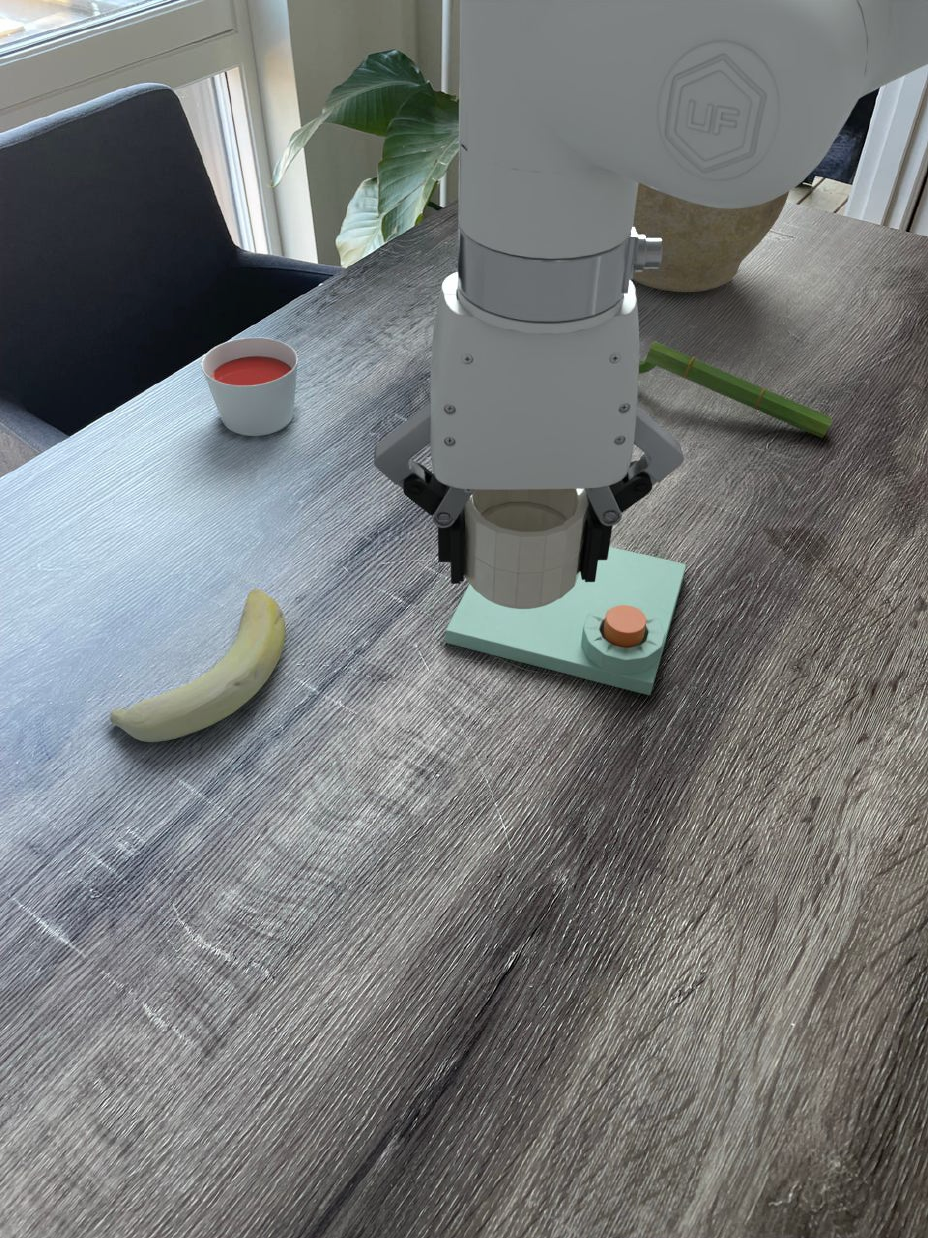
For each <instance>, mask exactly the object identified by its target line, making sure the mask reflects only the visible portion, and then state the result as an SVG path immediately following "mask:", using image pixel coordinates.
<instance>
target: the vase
mask: <svg viewBox="0 0 928 1238" xmlns="http://www.w3.org/2000/svg"><path fill="white" fill-rule="evenodd" d="M790 192H791V190H790V191H788V192H787V193H785V194H783V195H781V196H779V197H778V198H776V199H774V200H772V201H769V202H766V203H764V204H760V205H756V206H751V207H745V208H737V209H726V208H714V207H708V206H703V205H699V204H695V203H691V202H688V201H685V200H682V199H679V198H676V197H673V196H671V195H668V194H665V193H663V192H660V191H658V190H656V189H653V188H651V187H649V186H646V185H644V184H642V183H639V184H638V192H637V199H636V207H635V214H634V222H633V227H635V230H636V232H637V234H644V235H645V237H661V239H662V246H663V251H662V261H661V265H660V268H659V269H644V270H643V271H642V272H635V274H634V277H633V279H632V280H633V281H635V282H637V283H639V284H641V285H643V286H647V287H650V288H652V289H657V290H660V291H666V292H673V293H674V292H675V293H676V292H677V293H697V292H705V291H709V290H713V289H717V288H720V287H722V286H724V285H726V284H728V283H729V282H730V281H732V280H733V279H734V278H735V276H736V275H737V274H738V272H739V268H740V266H741V264H742V263H743V261H744V260H745V259H746V258H747V257H748V256H749V255H750V253H751V252H752V251H754V249H755V248H757V246H758V245H759V244H761V242H762V240H763V239H764V238H765V237H766V236H767V235H768V233H769V232H770V231H771V229H773V227H774V225H776V222H777V221H778V219H779V217H780V215H781V213H782V212H783V209H784V207H785V205H786V203H787V200H788V197H789V194H790Z"/></svg>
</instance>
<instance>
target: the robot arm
mask: <svg viewBox="0 0 928 1238" xmlns="http://www.w3.org/2000/svg"><path fill="white" fill-rule="evenodd" d="M927 65H928V0H459V75H458V76H459V80H458V81H459V82H458V83H459V84H458V87H459V93H458V94H459V96H458V193H457V194H458V198H457V199H458V200H457V201H458V204H457V205H458V207H457V211H458V212H457V216H458V217H457V218H458V221H457V271H454V272H453V273H451V274H449V275H448V276H446V277H445V278H444V279H443V281H442V283H441V288H440V290H439V296H438V300H437V304H436V312H435V316H434V317H435V318H434V324H433V330H432V331H433V332H432V344H431V355H430V356H431V357H430V375H429V376H430V377H429V401H428V403H427V404H426V405H425V406H423V407H422V408H421V409H419V410H418V411H417V412H416V413H414V414H413V415H412V416H410V417H409V418H408V419H406V420H405V421H404V422H403V423H402V424H400V425H399V426H398V427H397V428H395V429H394V430H393V431H392V432H390V433H389V434H388V435H386V436H385V437H384V438H382V439H381V440H380V441H379V442H377V443H376V445H375V446H374V453H373V464H374V465H373V466H374V467H375V468H376V469H377V470H378V471H379V472H380V473H382V475H384V476H385V477H386V479H387V478H388V479H389V481H391V482H392V483H393V484H394V485H395V486H398V487H400V488H401V489H402V491H403V494H404V496H406V498H407V499H408V500H410V501H412V502H413V503H414V504H415V505H417V506H418V507H419V508H420V509H422V510H423V511H424V512H426V513H427V514H428V515H430V516H431V517H432V523H433V524H434V526H436V527H437V563H449V564H450V584H451V585H460V584H461V582H464V581H465V576H464V543H465V527H464V513H463V508H464V506H465V505H466V503H467V502H468V500H469V498H470V497H471V495H472V493H473V492H474V490H475V489H476V490H515V489H583V488H584V490H585V492H586V496H587V500H588V512H587V520H586V528H585V536H584V544H583V552H582V560H581V568H580V573H581V579H582V580H585V582H595V579H596V572H597V565H598V560H607V559H608V553H609V547H611V539H612V531H613V526H616V525H618V524H619V523H620V522H621V520H622V518H623V517H622V516H623V514H622V513H624V512H626V511H627V510H629V509H630V508H631V507H632V506H634V505H635V504H636V503H638V502H639V501H641V500H642V499H643V498H645V497H647V496H648V495H649V494H650V493H651V492H652V490H653V486H654V485H656V484H657V483H661V481H663V480H664V479H665V478H667V477H668V476H669V475H670V474H671V473H673V472H674V471H676V470H677V469H678V468H679V467H680V466H681V465H682V464H683V463H684V460H685V457H684V453H683V450H682V448H681V444H680V442H679V441H678V440H677V439H676V438H675V437H674V436H673V435H671V434H670V433H669V432H668V431H667V430H666V429H664V427H663V426H661V425H660V424H659V423H658V422H657V421H655V420H654V419H653V418H652V416H651V417H650V415H648V414H647V413H646V412H645V411H644V410H643V409H641V408H640V407H639V406H638V395H639V394H638V393H639V375H640V374H639V362H640V325H639V310H638V299H637V291H636V286H635V284H634V282H633V281H632V280H633V277H634V274H635V272H642V271H643V270H644V269H659V268H660V265H661V261H662V251H663V246H662V239H661V237H645V235H644V234H637V232H636V230H635V227H633V222H634V214H635V207H636V199H637V192H638V184H639V183H642V184H644V185H646V186H649V187H651V188H653V189H656V190H658V191H660V192H663V193H665V194H668V195H671V196H673V197H676V198H679V199H682V200H685V201H688V202H691V203H695V204H699V205H703V206H708V207H714V208H726V209H737V208H745V207H751V206H756V205H760V204H764V203H766V202H769V201H772V200H774V199H776V198H778V197H779V196H781V195H783V194H785V193H787V192H788V191H790V192H791V191H792V190H794V189H795V188H796V187H797V186H798V185H800V184H801V183H802V182H803V181H805V179H806V178H807V177H808V176H810V174H812V172H814V170H816V168H817V167H818V166H819V165H820V164H821V162H823V161H822V160H823V159H824V158H825V157H826V155H827V154H828V153H829V151H830V149H831V147H832V145H833V143H834V142H835V140H836V139H837V137H838V135H839V134H840V133H841V130H842V129H843V127H844V126H845V124H846V122H847V120H848V118H849V117H850V116H851V113H852V111H853V110H854V108H855V106H856V105H857V103H858V101H859V99H861V98H862V97H864V96H866V95H868V94H870V93H872V92H874V91H876V90H878V89H880V88H882V87H884V86H886V85H888V84H890V83H892V82H894V81H896V80H898V79H900V78H902V77H904V76H906V75H908V74H911V73H912V72H914V71H916V70H919V69H921V68H923V67H925V66H927ZM428 445H430V458H431V465H432V471H431V470H429V469H428V468H427V467H426V466H424V465H423V464H422V463H419V462H415V461H414V458H413V457H414V456H415V455H417V454H418V453H419V452H421V451H422V450H423V449H425V448H426V447H428ZM634 446H636V447H637V448H638V449H639V450H641V451H642V452H643V454H642V455H640V457H639V459H638V460H633V461H632V458H633V453H634Z"/></svg>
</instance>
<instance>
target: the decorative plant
mask: <svg viewBox="0 0 928 1238" xmlns="http://www.w3.org/2000/svg"><path fill="white" fill-rule="evenodd" d="M656 367H659V368H660V369H663V370H664V371H667V372H669V373H672V374H674V375H676V376H678V377H681V378H683V379H684V380H687V381H690V382H691V383H694V384H696V385H700V386H702V387H704V388H706V389H708V390H711V391H713V392H715V393H718V394H719V395H722V396H724V397H727V398H729V399H731V400H733V401H735V402H738V403H741V404H742V405H745V406H747V407H749V408H752V409H753V410H756V411H759V412H760V413H763V414H765V415H768V416H770V417H772V418H775V419H777V420H780V421H782V422H784V423H786V424H788V425H790V426H793V427H795V428H798V429H800V430H802V431H804V432H807V433H809V434H810V435H813V436H816V437H818V438H820V439H824V437H825V436H826V434H827V432H828V430H829V429H830V427H831V425H832V422H833V420H834V418H833V417H831V416H828V415H826V414H824V413H822V412H819V411H817V410H815V409H813V408H810V407H808V406H806V405H803V404H801V403H799V402H796V401H794V400H793V399H789V398H787V397H785V396H783V395H780V394H778V393H775V392H773V391H771V390H768V389H767V387H765V386H764V387H761V386H760V385H757V384H755V383H753V382H750V381H748V380H745V379H743V378H740V377H739V376H736V375H734V374H731V373H729V372H727V371H724V370H722V369H720V368H717V367H715V366H713V365H711V364H708V363H706V362H704V361H702V360H699V359H698V358H696V356H690V355H688V354H685V353H683V352H681V351H679V350H676V349H674V348H671V347H669V346H667V345H665V344H662V343H660V342H657V341H656V340H653V342H652V344H651V345H650V347H649V349H648V351H647V354H646V356H645V359H644V360H639V375H641V374H644V373H648V372H650V371H652V370H653V369H654V368H656Z"/></svg>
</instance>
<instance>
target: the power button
mask: <svg viewBox="0 0 928 1238" xmlns="http://www.w3.org/2000/svg"><path fill="white" fill-rule="evenodd" d="M646 623H647V620H646V617H645V615H644V614H643V613H642V612H641V611H640V610H639V609H637V608H635V607H632V606H627V605H620V606H615V607H613V608H611V609H610V610H609V611H608V612H607V614H606V617H605V624H604V630H603V632H604V636H605V638H606V639H607V640H608V641H609V642H610V643H611V644H613V645H615V646H619V647H623V648H630V647H634V646H636V645H638V644H640V643H641V642H642V640H643V638H644V633H645V628H646Z"/></svg>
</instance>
